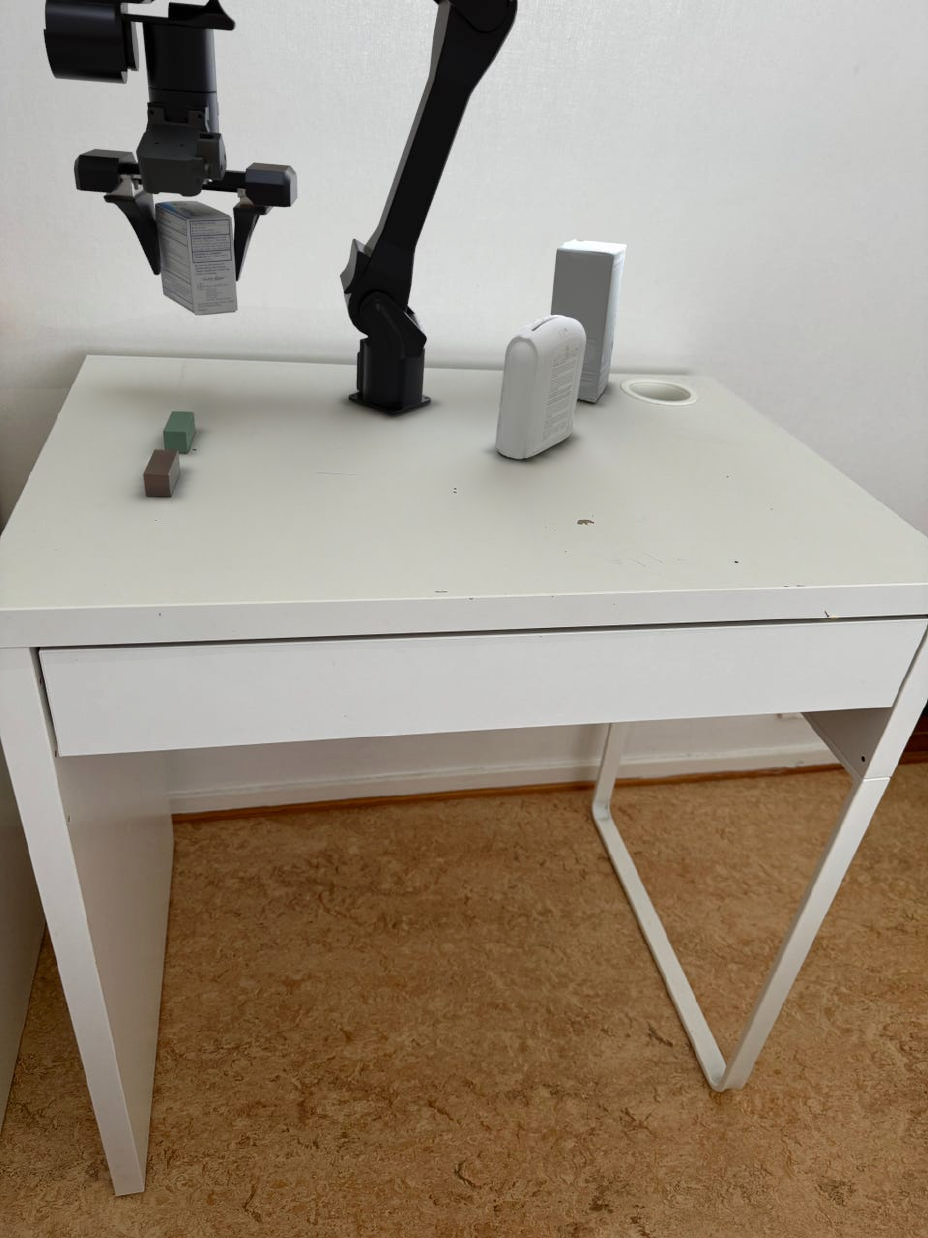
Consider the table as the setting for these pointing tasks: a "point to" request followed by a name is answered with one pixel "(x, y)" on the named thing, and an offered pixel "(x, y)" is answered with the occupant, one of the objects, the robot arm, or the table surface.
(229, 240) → the medicine box
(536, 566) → the table surface
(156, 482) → the walnut bar
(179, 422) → the sage bar
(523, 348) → the photo printer
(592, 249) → the cosmetic box
